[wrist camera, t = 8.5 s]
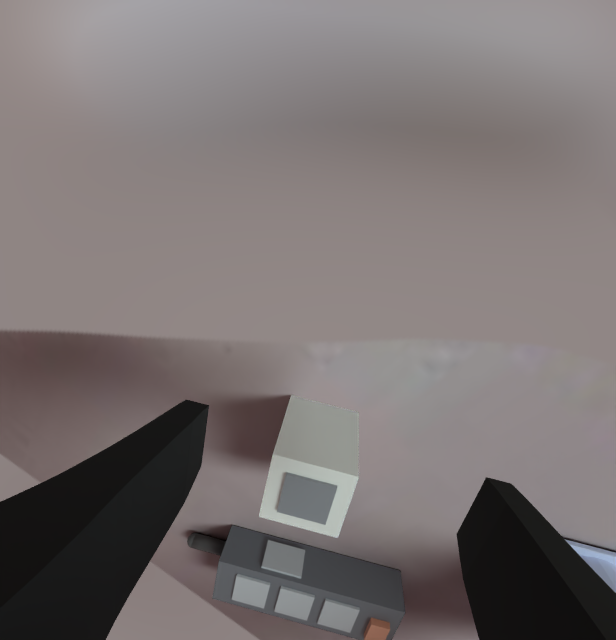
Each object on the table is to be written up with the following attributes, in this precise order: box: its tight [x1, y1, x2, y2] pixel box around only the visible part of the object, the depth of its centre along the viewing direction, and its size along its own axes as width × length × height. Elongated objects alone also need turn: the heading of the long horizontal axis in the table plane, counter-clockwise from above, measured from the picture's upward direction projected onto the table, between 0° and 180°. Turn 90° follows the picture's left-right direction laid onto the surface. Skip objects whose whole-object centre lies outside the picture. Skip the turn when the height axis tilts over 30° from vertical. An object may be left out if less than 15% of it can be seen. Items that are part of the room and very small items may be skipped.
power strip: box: [187, 525, 405, 640], centre depth 24 cm, size 15×4×3 cm, turn 78°
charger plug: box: [259, 395, 359, 538], centre depth 19 cm, size 4×4×5 cm
